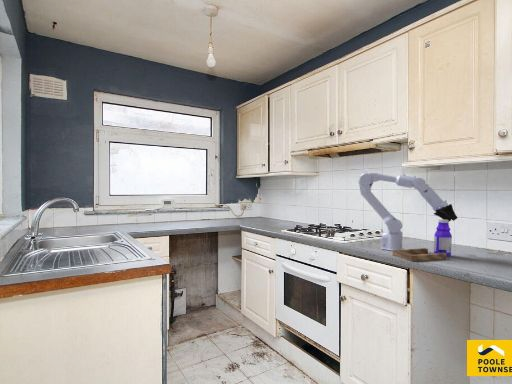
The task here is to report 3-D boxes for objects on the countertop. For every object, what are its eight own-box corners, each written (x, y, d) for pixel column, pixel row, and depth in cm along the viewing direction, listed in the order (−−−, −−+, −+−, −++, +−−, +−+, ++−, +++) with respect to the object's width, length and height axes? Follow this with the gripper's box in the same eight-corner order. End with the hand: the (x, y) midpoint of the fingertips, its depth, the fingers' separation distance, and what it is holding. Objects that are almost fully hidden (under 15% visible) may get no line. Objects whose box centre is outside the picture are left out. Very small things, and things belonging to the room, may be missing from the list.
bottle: (445, 254, 148) (446, 219, 148) (453, 257, 143) (454, 220, 142) (431, 254, 148) (432, 218, 148) (438, 257, 142) (439, 220, 142)
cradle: (425, 253, 150) (425, 248, 150) (446, 259, 138) (446, 253, 138) (392, 255, 145) (392, 250, 145) (411, 261, 133) (411, 255, 133)
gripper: (444, 190, 141) (466, 213, 137) (434, 196, 155) (453, 217, 151) (431, 198, 142) (452, 222, 138) (422, 204, 155) (441, 225, 151)
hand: (452, 220), depth 144 cm, fingers open, 7 cm apart
